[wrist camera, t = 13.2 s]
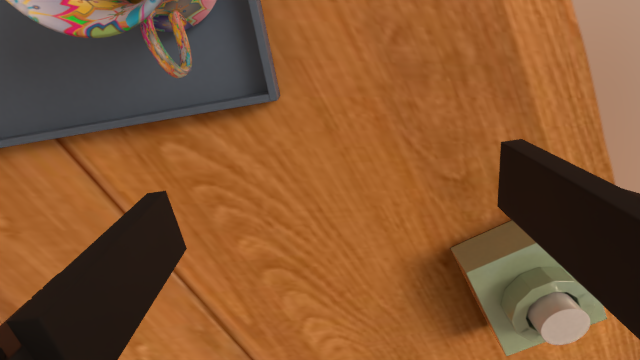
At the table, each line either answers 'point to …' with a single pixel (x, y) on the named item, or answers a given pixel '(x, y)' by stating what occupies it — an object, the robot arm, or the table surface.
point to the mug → (123, 22)
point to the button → (558, 318)
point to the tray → (127, 74)
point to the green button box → (516, 283)
